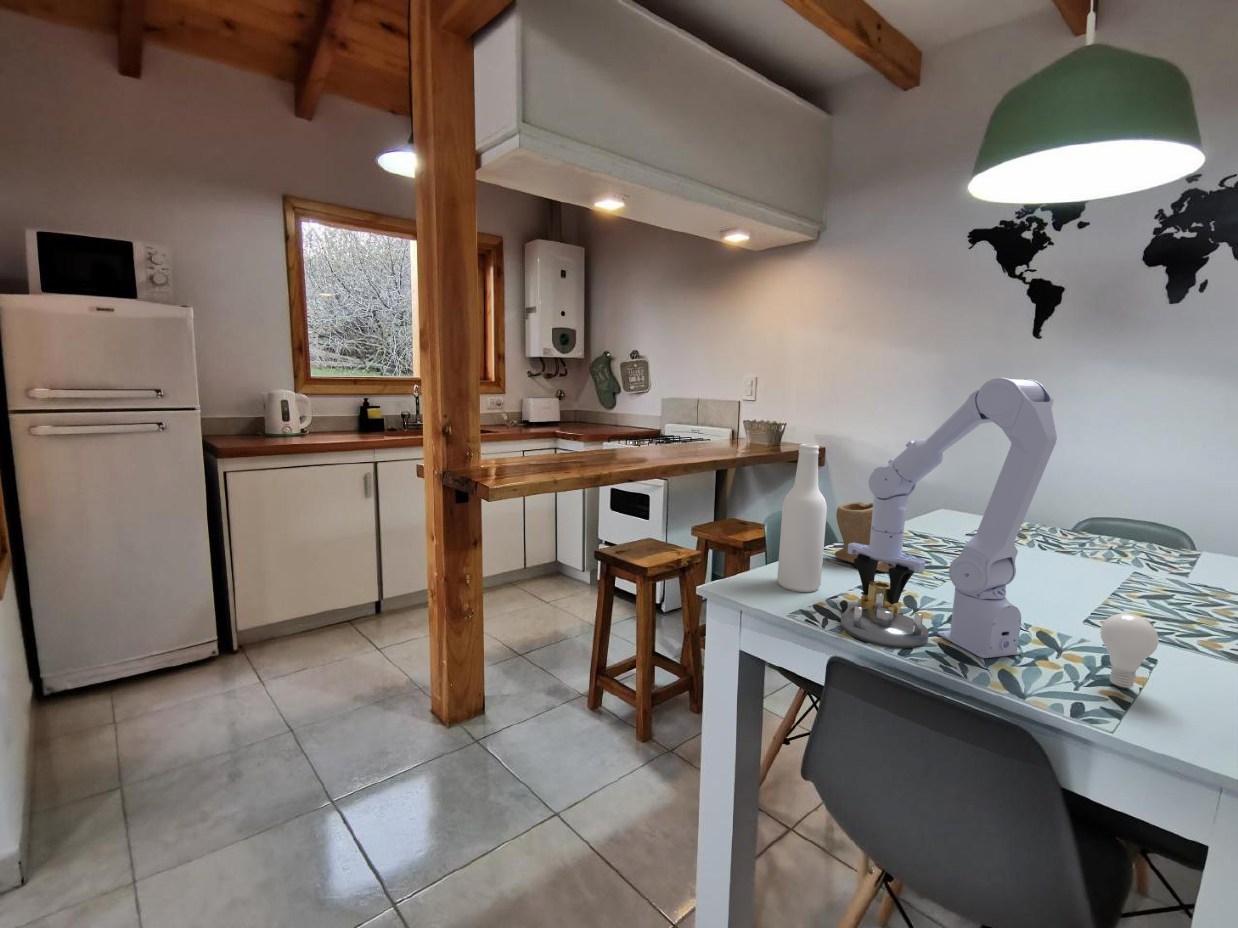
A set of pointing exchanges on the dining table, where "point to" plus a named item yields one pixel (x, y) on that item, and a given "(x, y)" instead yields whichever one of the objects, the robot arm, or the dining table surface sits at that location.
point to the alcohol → (803, 527)
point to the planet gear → (876, 588)
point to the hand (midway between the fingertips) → (880, 598)
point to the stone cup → (856, 530)
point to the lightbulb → (1127, 646)
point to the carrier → (885, 626)
